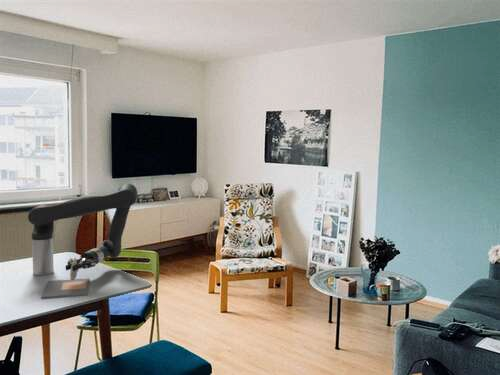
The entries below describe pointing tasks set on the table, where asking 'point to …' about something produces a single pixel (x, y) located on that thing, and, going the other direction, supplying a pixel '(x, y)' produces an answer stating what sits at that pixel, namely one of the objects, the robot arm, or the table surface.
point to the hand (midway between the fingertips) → (69, 268)
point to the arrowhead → (73, 273)
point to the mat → (66, 288)
